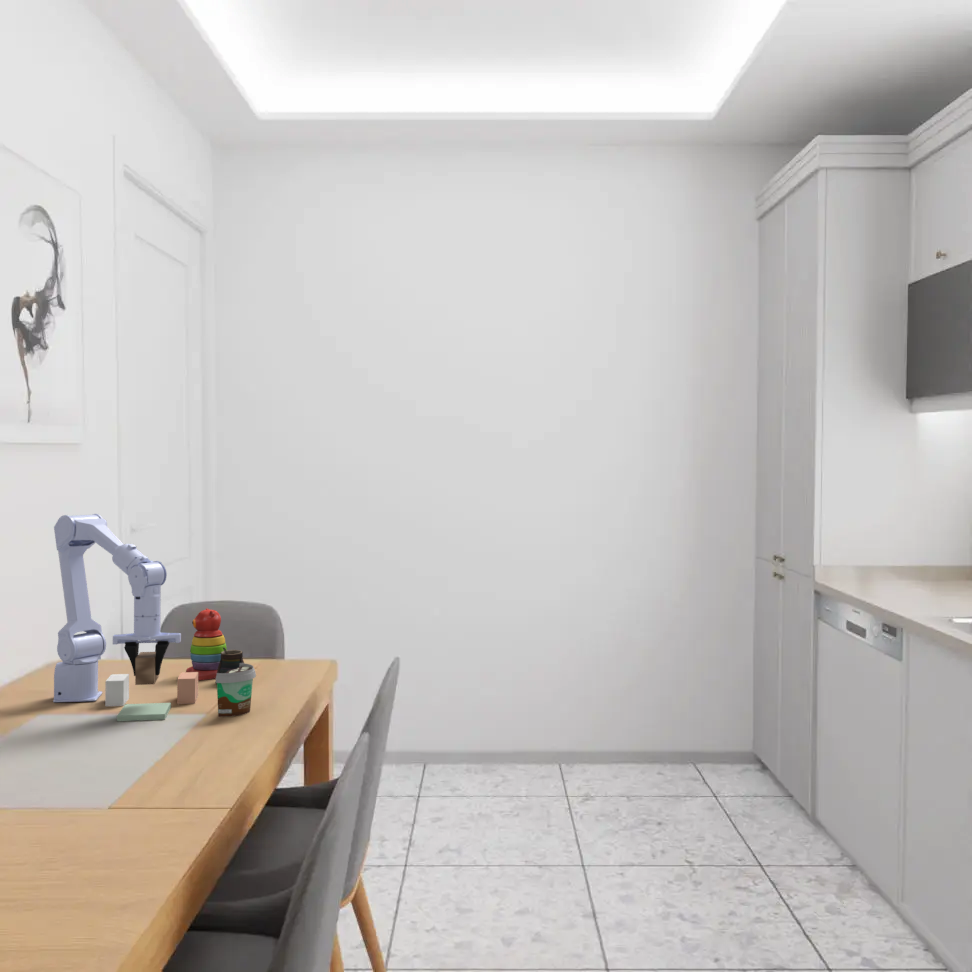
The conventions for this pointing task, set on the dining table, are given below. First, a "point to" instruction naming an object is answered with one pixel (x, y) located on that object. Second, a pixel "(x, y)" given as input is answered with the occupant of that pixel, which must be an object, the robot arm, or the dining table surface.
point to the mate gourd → (230, 660)
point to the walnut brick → (145, 668)
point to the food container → (235, 690)
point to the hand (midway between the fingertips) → (146, 674)
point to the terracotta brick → (187, 688)
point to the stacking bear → (206, 645)
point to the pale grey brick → (117, 690)
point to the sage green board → (144, 711)
